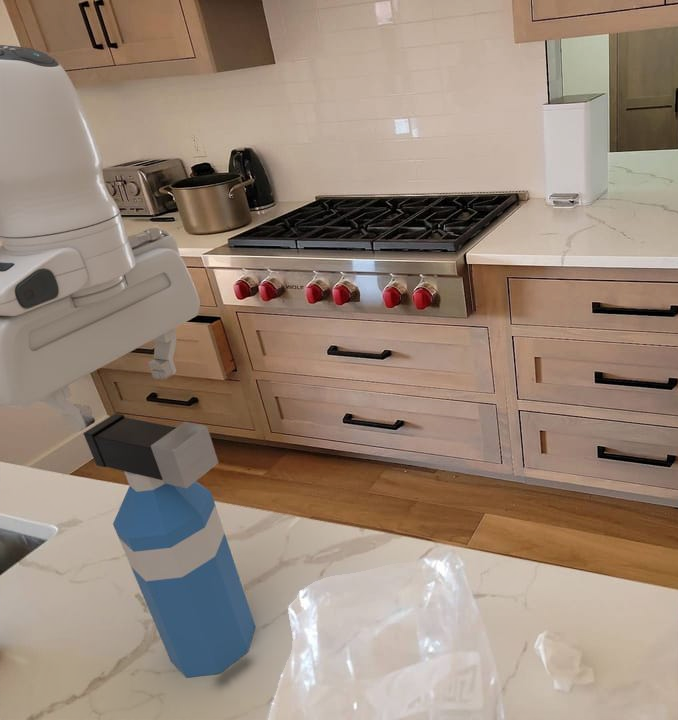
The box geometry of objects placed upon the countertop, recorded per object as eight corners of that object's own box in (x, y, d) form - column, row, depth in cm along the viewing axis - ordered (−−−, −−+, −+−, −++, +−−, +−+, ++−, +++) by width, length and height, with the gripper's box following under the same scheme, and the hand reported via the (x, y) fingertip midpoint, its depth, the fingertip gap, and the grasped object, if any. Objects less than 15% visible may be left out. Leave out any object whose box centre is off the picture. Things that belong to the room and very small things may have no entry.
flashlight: (94, 466, 66) (79, 430, 64) (129, 443, 70) (115, 408, 68) (186, 489, 62) (173, 450, 60) (219, 462, 65) (207, 425, 63)
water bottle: (221, 687, 72) (148, 499, 61) (151, 668, 75) (71, 485, 64) (272, 619, 80) (216, 441, 68) (207, 604, 83) (144, 431, 71)
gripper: (144, 220, 66) (184, 348, 72) (-77, 298, 50) (-1, 454, 56) (193, 222, 64) (230, 354, 70) (-22, 304, 47) (51, 467, 53)
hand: (126, 400), depth 63 cm, fingers open, 8 cm apart
